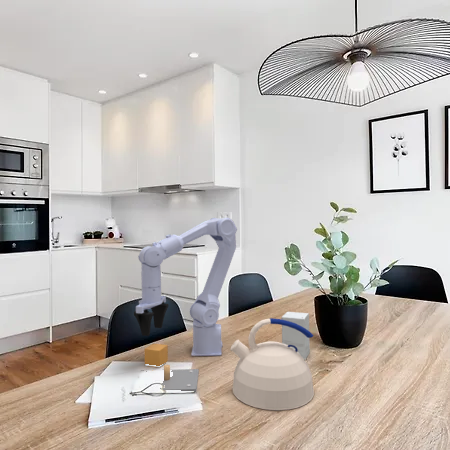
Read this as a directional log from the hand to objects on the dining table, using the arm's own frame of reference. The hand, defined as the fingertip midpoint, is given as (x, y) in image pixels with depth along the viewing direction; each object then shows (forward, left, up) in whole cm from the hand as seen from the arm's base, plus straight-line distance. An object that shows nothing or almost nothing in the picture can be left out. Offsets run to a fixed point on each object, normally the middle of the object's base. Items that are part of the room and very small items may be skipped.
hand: (152, 331), depth 109 cm
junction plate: (-6, +14, -9) cm, 18 cm away
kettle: (-33, +19, -10) cm, 40 cm away
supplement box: (-44, -4, -10) cm, 46 cm away
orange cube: (-1, +1, -9) cm, 10 cm away
